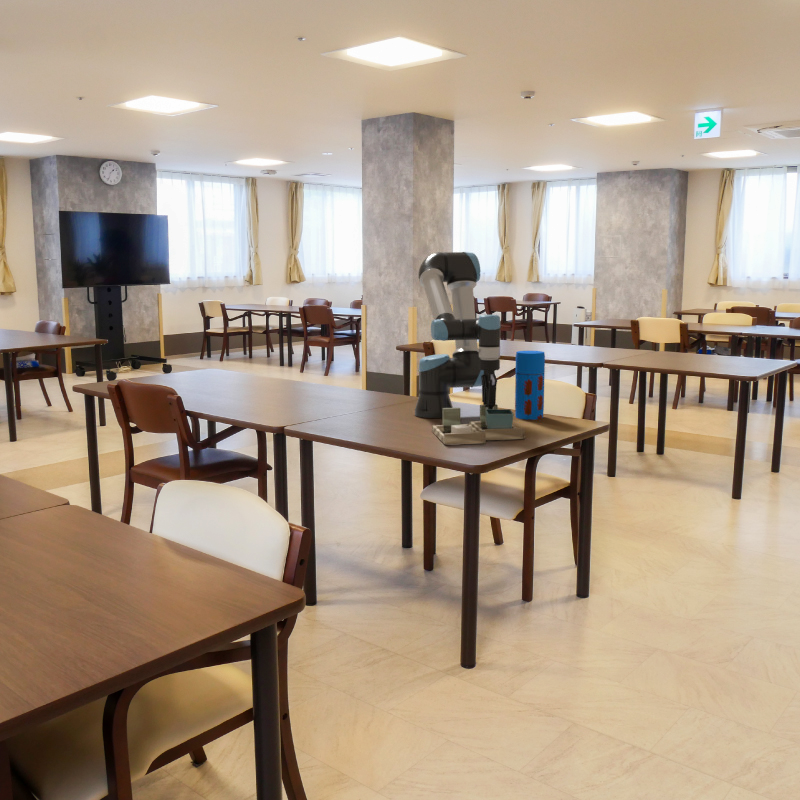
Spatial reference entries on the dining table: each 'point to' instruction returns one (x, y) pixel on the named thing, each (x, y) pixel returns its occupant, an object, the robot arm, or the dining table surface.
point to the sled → (453, 418)
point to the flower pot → (499, 418)
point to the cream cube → (460, 429)
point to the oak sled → (497, 433)
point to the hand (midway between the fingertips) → (488, 423)
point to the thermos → (529, 384)
